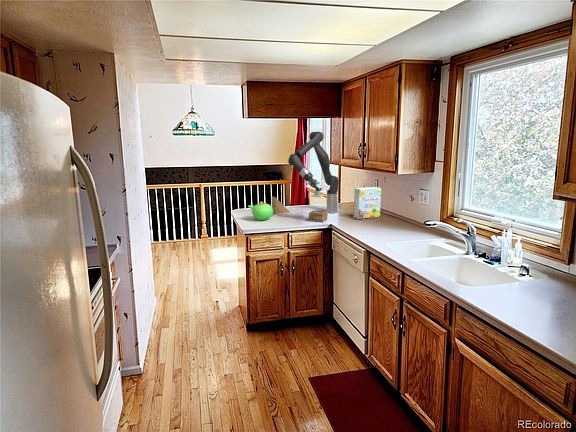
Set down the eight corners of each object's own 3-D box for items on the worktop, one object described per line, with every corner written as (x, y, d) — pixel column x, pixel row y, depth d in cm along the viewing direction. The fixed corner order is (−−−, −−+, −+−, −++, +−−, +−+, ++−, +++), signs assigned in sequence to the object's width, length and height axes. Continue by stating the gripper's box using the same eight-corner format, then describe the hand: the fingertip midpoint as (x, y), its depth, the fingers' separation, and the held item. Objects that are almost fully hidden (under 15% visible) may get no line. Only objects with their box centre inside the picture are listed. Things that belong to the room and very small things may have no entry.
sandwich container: (291, 212, 359) (291, 196, 356) (275, 214, 352) (275, 197, 349) (286, 210, 366) (286, 194, 363) (271, 212, 359) (271, 196, 356)
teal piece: (314, 195, 325) (314, 181, 323) (323, 196, 322) (324, 181, 319) (310, 196, 318) (311, 182, 315) (320, 197, 315) (320, 182, 312)
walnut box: (313, 218, 333) (313, 210, 332) (327, 219, 328) (327, 211, 327) (308, 221, 323) (308, 212, 321) (322, 222, 318) (322, 213, 316)
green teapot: (261, 223, 316) (261, 204, 313) (247, 220, 327) (246, 202, 324) (277, 219, 330) (276, 201, 327) (262, 216, 340) (262, 199, 337)
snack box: (358, 220, 326) (359, 189, 320) (352, 218, 333) (353, 187, 328) (380, 218, 333) (382, 187, 328) (374, 216, 341) (375, 186, 336)
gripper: (305, 172, 312) (320, 188, 310) (312, 170, 325) (326, 186, 323) (299, 178, 316) (313, 194, 313) (306, 176, 328) (319, 192, 326)
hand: (319, 190), depth 318 cm, fingers closed on teal piece, 3 cm apart
